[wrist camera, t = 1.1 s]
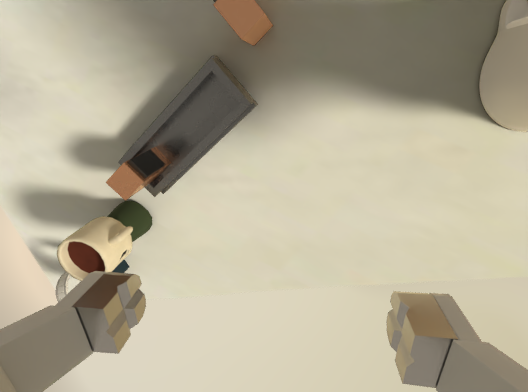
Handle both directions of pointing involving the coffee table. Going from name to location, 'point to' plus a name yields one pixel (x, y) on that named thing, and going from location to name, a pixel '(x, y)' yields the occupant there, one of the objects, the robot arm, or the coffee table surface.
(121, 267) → the watch
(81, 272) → the character mug
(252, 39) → the orange block
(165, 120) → the dark grey tray
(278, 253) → the coffee table surface
